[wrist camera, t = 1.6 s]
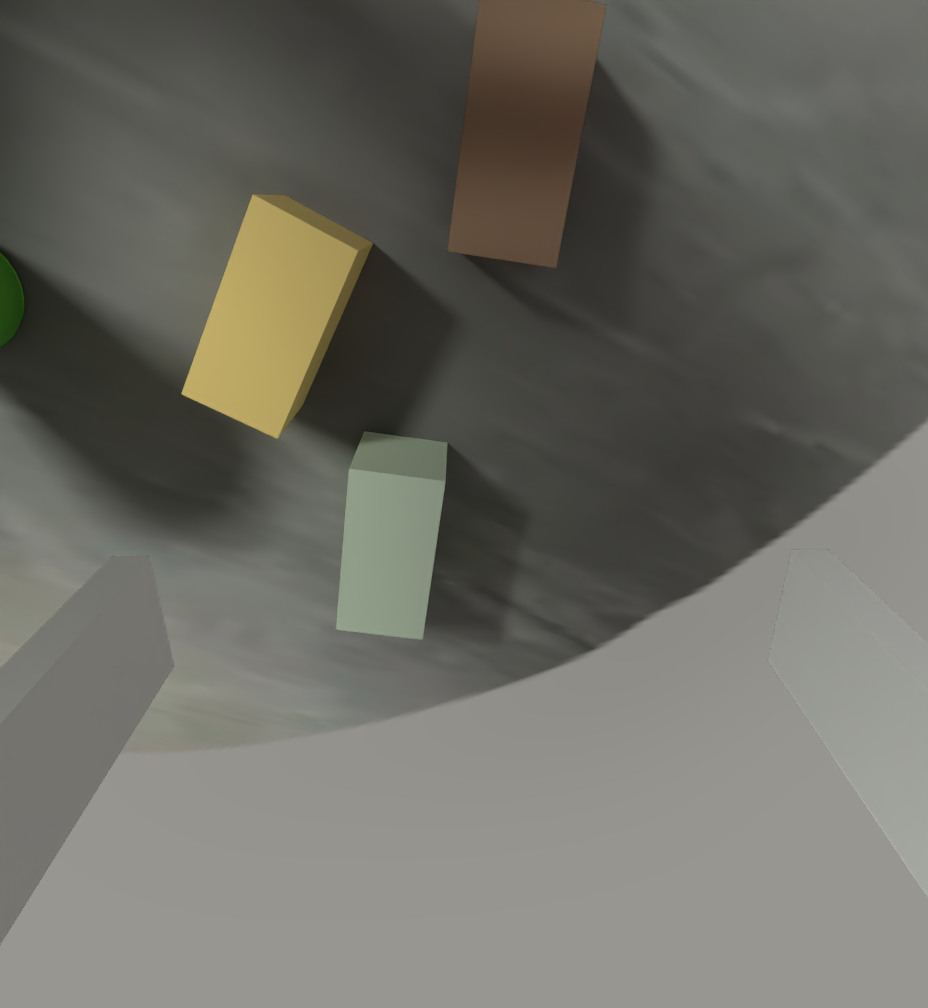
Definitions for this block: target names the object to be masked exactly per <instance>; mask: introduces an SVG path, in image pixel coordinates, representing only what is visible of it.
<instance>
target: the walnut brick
mask: <svg viewBox="0 0 928 1008" xmlns="http://www.w3.org/2000/svg"><path fill="white" fill-rule="evenodd" d="M605 10H606V4H603V3H597V2H592V1H586V0H479V6H478V14H477V22H476V30H475V38H474V46H473V53H472V61H471V69H470V77H469V85H468V93H467V101H466V108H465V116H464V124H463V132H462V140H461V148H460V156H459V163H458V171H457V179H456V187H455V195H454V203H453V211H452V218H451V226H450V234H449V242H448V250H447V251H448V252H455V253H461V254H467V255H474V256H480V257H487V258H493V259H500V260H506V261H513V262H519V263H526V264H532V265H539V266H545V267H552V268H556V266H557V261H558V255H559V250H560V245H561V240H562V235H563V229H564V224H565V219H566V214H567V208H568V203H569V198H570V193H571V187H572V182H573V177H574V172H575V167H576V161H577V156H578V151H579V146H580V140H581V135H582V130H583V125H584V119H585V114H586V109H587V104H588V99H589V93H590V88H591V83H592V78H593V72H594V67H595V62H596V57H597V52H598V46H599V41H600V36H601V31H602V25H603V20H604V15H605Z"/></svg>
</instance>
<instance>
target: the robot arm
mask: <svg viewBox="0 0 928 1008" xmlns="http://www.w3.org/2000/svg"><path fill="white" fill-rule="evenodd" d="M768 662H769V663H770V664H771V666H772V667H773V669H774V670H775V672H776V673H777V675H778V676H779V678H780V679H781V681H782V682H783V684H784V685H785V687H786V688H787V690H788V691H789V692H790V694H791V696H792V697H793V699H794V700H795V702H796V703H797V705H798V706H799V707H800V709H801V710H802V712H803V713H804V715H805V716H806V718H807V719H808V721H809V722H810V724H811V725H812V727H813V728H814V730H815V731H816V732H817V734H818V736H819V737H820V739H821V740H822V742H823V743H824V745H825V746H826V747H827V749H828V750H829V752H830V753H831V755H832V756H833V758H834V759H835V761H836V762H837V764H838V765H839V767H840V768H841V770H842V771H843V773H844V774H845V776H846V777H847V779H848V780H849V781H850V783H851V784H852V786H853V787H854V789H855V790H856V792H857V793H858V795H859V796H860V798H861V799H862V801H863V802H864V804H865V805H866V807H867V808H868V810H869V811H870V813H871V814H872V816H873V817H874V819H875V820H876V822H877V823H878V825H879V826H880V827H881V829H882V830H883V832H884V833H885V835H886V836H887V838H888V839H889V841H890V842H891V844H892V845H893V847H894V848H895V850H896V851H897V853H898V854H899V856H900V857H901V859H902V860H903V862H904V863H905V865H906V866H907V868H908V869H909V871H910V872H911V874H912V875H913V877H914V878H915V879H916V881H917V882H918V884H919V885H920V887H921V888H922V890H923V891H924V893H925V894H926V896H927V897H928V642H927V641H926V640H925V639H924V638H923V637H922V636H920V635H919V634H918V633H917V632H916V631H915V630H914V629H913V628H912V627H911V626H910V625H909V624H908V623H907V622H906V621H904V620H903V619H902V618H901V617H900V616H899V615H898V614H897V613H896V612H895V611H894V610H893V609H892V608H891V607H889V606H888V605H887V604H886V603H885V602H884V601H883V600H882V599H881V598H880V597H879V596H878V595H877V594H875V593H874V592H873V591H872V590H871V589H870V588H869V587H868V586H867V585H866V584H865V583H864V582H863V581H862V580H861V579H860V578H858V577H857V576H856V575H855V574H854V573H853V572H852V571H851V570H850V569H849V568H848V567H847V566H846V565H845V564H844V563H842V562H841V561H840V560H839V559H838V558H837V557H836V556H835V555H834V554H833V553H832V552H831V551H830V550H829V549H823V550H822V549H820V550H791V552H790V557H789V562H788V567H787V571H786V576H785V581H784V586H783V591H782V595H781V600H780V605H779V610H778V614H777V619H776V624H775V629H774V633H773V638H772V643H771V648H770V652H769V657H768ZM173 667H174V662H173V658H172V653H171V649H170V644H169V640H168V635H167V631H166V626H165V622H164V617H163V613H162V608H161V604H160V599H159V595H158V590H157V586H156V581H155V577H154V572H153V568H152V563H151V559H150V556H112V557H111V558H110V559H109V560H108V561H107V562H106V563H105V564H104V565H103V566H102V567H101V568H100V569H99V570H98V571H97V572H96V573H95V574H94V575H93V576H92V577H91V578H90V579H89V580H88V581H87V582H86V583H85V584H84V585H83V586H82V587H81V588H80V589H79V590H78V591H77V592H76V593H75V594H74V595H73V596H72V597H71V598H70V599H69V600H68V601H67V602H66V603H65V604H64V605H63V606H62V607H61V608H60V609H59V610H58V611H57V612H56V613H55V614H54V615H53V616H52V617H51V618H50V619H49V620H48V621H47V622H46V623H45V624H44V625H43V626H42V627H41V628H40V629H39V630H38V631H37V632H36V633H35V634H34V635H33V636H32V637H31V638H30V639H29V640H28V641H27V642H26V643H25V644H24V645H23V646H22V647H21V648H20V649H19V650H18V651H17V652H16V653H15V654H14V655H13V656H12V657H11V658H10V659H9V660H8V661H7V662H6V663H5V664H4V665H3V666H2V667H1V668H0V944H1V943H2V941H3V939H4V938H5V936H6V935H7V933H8V932H9V930H10V928H11V927H12V925H13V924H14V922H15V920H16V918H17V917H18V916H19V914H20V912H21V911H22V909H23V908H24V906H25V904H26V903H27V901H28V900H29V898H30V896H31V895H32V893H33V891H34V890H35V888H36V887H37V885H38V884H39V882H40V880H41V879H42V877H43V875H44V874H45V872H46V871H47V869H48V867H49V866H50V864H51V863H52V861H53V859H54V858H55V856H56V854H57V853H58V851H59V850H60V848H61V847H62V845H63V843H64V842H65V840H66V839H67V837H68V835H69V834H70V832H71V831H72V829H73V827H74V826H75V824H76V823H77V821H78V819H79V817H80V816H81V815H82V813H83V811H84V810H85V808H86V806H87V805H88V803H89V802H90V800H91V799H92V797H93V795H94V793H95V792H96V791H97V789H98V787H99V786H100V784H101V782H102V781H103V779H104V778H105V776H106V775H107V773H108V771H109V770H110V768H111V766H112V765H113V763H114V762H115V760H116V758H117V757H118V755H119V754H120V752H121V750H122V749H123V747H124V746H125V744H126V742H127V741H128V739H129V738H130V736H131V734H132V733H133V731H134V730H135V728H136V726H137V725H138V723H139V722H140V720H141V718H142V717H143V715H144V714H145V712H146V710H147V709H148V707H149V706H150V704H151V702H152V701H153V699H154V698H155V696H156V694H157V693H158V691H159V690H160V688H161V686H162V685H163V683H164V682H165V680H166V678H167V677H168V675H169V674H170V672H171V670H172V669H173Z"/></svg>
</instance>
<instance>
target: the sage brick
mask: <svg viewBox="0 0 928 1008" xmlns="http://www.w3.org/2000/svg"><path fill="white" fill-rule="evenodd" d="M446 463H447V442H440V441H432V440H425V439H417V438H410V437H403V436H395V435H388V434H380V433H373V432H366V431H364V433H363V436H362V438H361V440H360V443H359V445H358V448H357V450H356V453H355V455H354V458H353V460H352V463H351V465H350V468H349V476H348V488H347V500H346V512H345V525H344V537H343V549H342V562H341V574H340V586H339V599H338V611H337V623H336V630H343V631H352V632H361V633H369V634H378V635H386V636H395V637H404V638H412V639H421V640H423V633H424V627H425V620H426V613H427V606H428V599H429V592H430V585H431V578H432V572H433V565H434V558H435V551H436V544H437V537H438V530H439V523H440V517H441V510H442V503H443V496H444V489H445V482H446Z"/></svg>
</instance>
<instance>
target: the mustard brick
mask: <svg viewBox="0 0 928 1008" xmlns="http://www.w3.org/2000/svg"><path fill="white" fill-rule="evenodd" d="M372 245H373V243H372V242H370V241H368V240H367V239H365V238H363V237H361V236H359V235H357V234H355V233H354V232H352V231H350V230H348V229H346V228H344V227H343V226H341V225H339V224H337V223H335V222H333V221H331V220H330V219H328V218H326V217H324V216H322V215H320V214H318V213H317V212H315V211H313V210H311V209H309V208H307V207H305V206H304V205H302V204H300V203H298V202H296V201H294V200H293V199H291V198H289V197H287V196H285V195H258V194H253V195H252V198H251V201H250V203H249V206H248V209H247V212H246V215H245V217H244V220H243V223H242V226H241V228H240V231H239V234H238V237H237V240H236V242H235V245H234V248H233V251H232V254H231V256H230V259H229V262H228V265H227V268H226V270H225V273H224V276H223V279H222V282H221V284H220V287H219V290H218V293H217V296H216V298H215V301H214V304H213V307H212V309H211V312H210V315H209V318H208V321H207V323H206V326H205V329H204V332H203V335H202V337H201V340H200V343H199V346H198V349H197V351H196V354H195V357H194V360H193V363H192V365H191V368H190V371H189V374H188V377H187V379H186V382H185V385H184V388H183V391H182V393H181V394H182V395H184V396H186V397H188V398H191V399H193V400H195V401H197V402H199V403H201V404H204V405H206V406H208V407H210V408H212V409H214V410H217V411H219V412H221V413H223V414H225V415H227V416H230V417H232V418H234V419H236V420H238V421H240V422H242V423H245V424H247V425H249V426H251V427H253V428H255V429H258V430H260V431H262V432H264V433H266V434H268V435H271V436H273V437H275V438H277V439H278V438H279V436H280V435H281V434H282V432H283V431H284V430H285V428H286V427H287V426H288V424H289V423H290V422H291V420H292V419H293V418H294V416H295V415H296V414H297V412H298V411H299V410H300V408H301V407H302V406H303V404H304V401H305V399H306V397H307V394H308V392H309V390H310V387H311V385H312V383H313V381H314V378H315V376H316V374H317V371H318V369H319V367H320V364H321V362H322V360H323V358H324V355H325V353H326V351H327V348H328V346H329V344H330V341H331V339H332V337H333V335H334V332H335V330H336V328H337V325H338V323H339V321H340V318H341V316H342V314H343V312H344V309H345V307H346V305H347V302H348V300H349V298H350V295H351V293H352V291H353V289H354V286H355V284H356V282H357V279H358V277H359V275H360V272H361V270H362V268H363V266H364V263H365V261H366V259H367V256H368V254H369V252H370V249H371V247H372Z"/></svg>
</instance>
